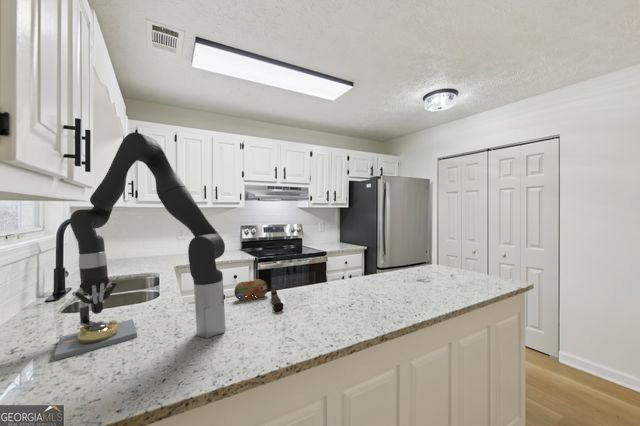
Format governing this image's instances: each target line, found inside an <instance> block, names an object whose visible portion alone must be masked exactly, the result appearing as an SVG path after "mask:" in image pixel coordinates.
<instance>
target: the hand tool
mask: <svg viewBox="0 0 640 426" xmlns="http://www.w3.org/2000/svg"><path fill="white" fill-rule="evenodd" d="M270 296H271V302H272V308H273V312H274V313H281V312H283V311H284V303H283V302H282V299H281V298H280V297H279V296H278V291H277V289H275V288H272V289H270Z"/></svg>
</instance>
